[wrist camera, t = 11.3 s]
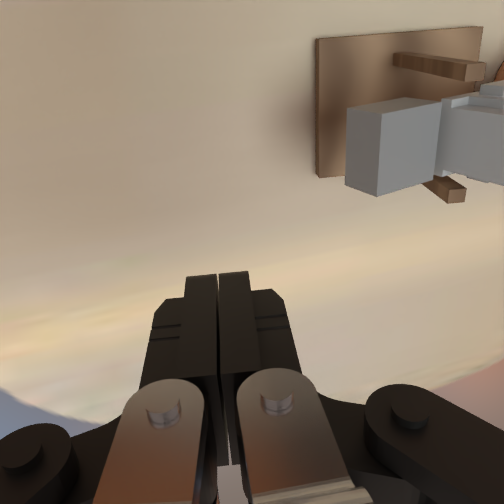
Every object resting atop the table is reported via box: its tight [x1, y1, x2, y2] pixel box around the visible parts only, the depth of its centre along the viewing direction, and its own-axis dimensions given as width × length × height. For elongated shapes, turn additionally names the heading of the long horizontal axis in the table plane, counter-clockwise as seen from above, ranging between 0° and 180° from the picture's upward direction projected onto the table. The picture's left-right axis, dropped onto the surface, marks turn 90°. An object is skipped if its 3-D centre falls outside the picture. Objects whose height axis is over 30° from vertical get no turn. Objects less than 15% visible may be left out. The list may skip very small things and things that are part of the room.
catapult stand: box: [316, 26, 486, 204], centre depth 36 cm, size 14×12×14 cm
